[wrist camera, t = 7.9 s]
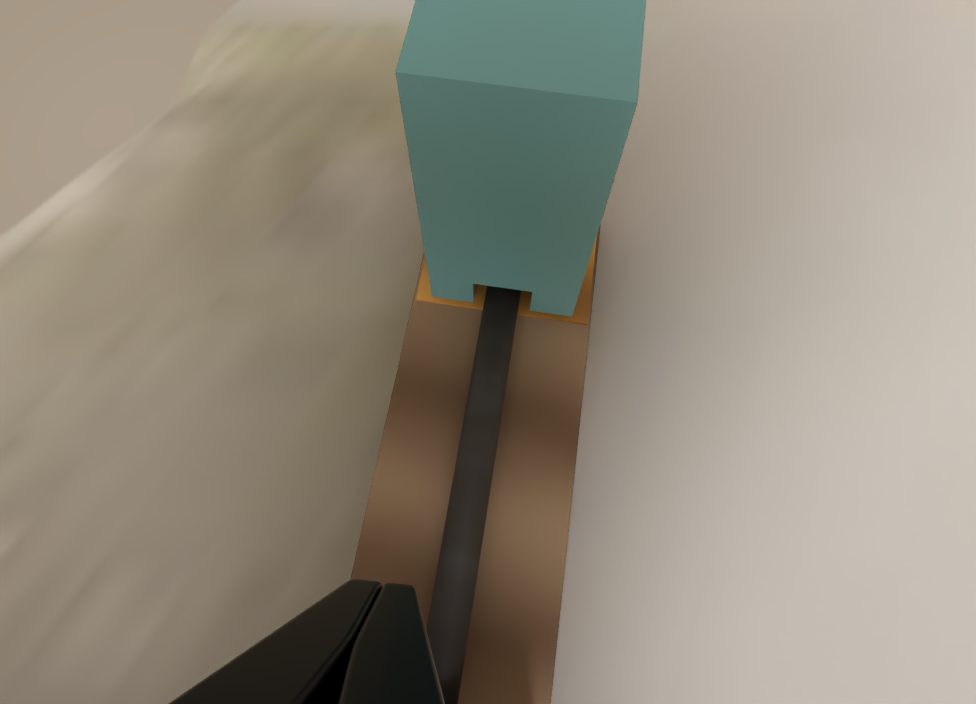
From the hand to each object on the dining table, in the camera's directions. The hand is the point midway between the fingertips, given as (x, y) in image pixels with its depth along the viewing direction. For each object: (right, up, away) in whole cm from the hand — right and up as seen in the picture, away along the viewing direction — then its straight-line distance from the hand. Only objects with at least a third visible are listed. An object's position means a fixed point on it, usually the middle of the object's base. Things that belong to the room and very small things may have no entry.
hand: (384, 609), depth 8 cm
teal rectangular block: (+2, +7, +15) cm, 16 cm away
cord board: (+1, 0, +14) cm, 14 cm away
